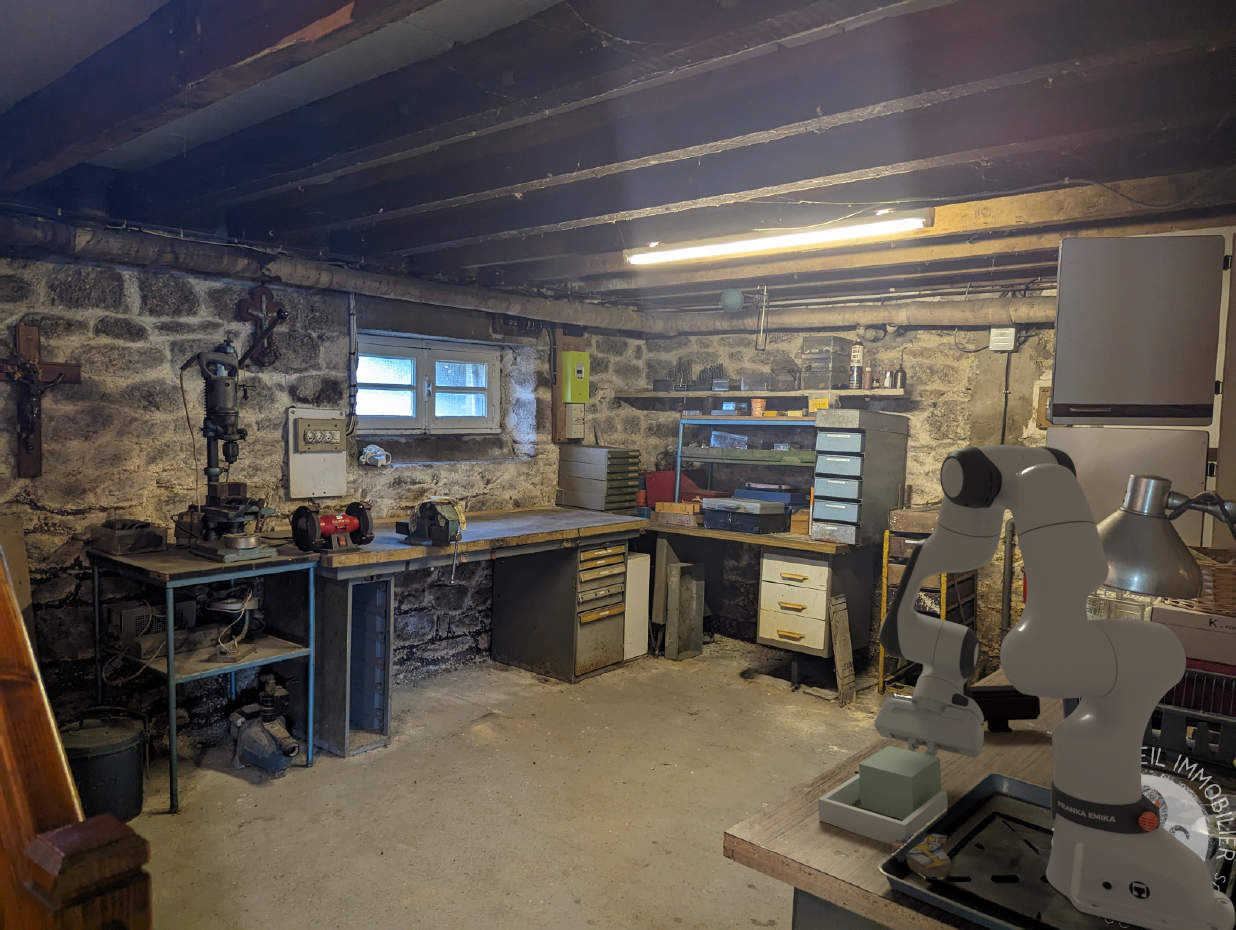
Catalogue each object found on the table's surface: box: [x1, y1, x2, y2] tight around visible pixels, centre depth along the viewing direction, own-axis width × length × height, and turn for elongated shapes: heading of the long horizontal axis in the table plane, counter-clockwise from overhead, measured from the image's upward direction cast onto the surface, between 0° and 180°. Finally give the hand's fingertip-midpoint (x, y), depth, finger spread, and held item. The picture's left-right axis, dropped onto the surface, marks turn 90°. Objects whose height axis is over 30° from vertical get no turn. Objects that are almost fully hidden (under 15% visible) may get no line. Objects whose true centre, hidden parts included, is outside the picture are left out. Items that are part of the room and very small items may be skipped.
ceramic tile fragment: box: [885, 833, 952, 878], centre depth 121 cm, size 12×3×10 cm
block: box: [858, 745, 942, 821], centre depth 143 cm, size 10×12×8 cm
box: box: [817, 772, 949, 845], centre depth 138 cm, size 16×17×4 cm
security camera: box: [963, 684, 1041, 734], centre depth 179 cm, size 7×18×10 cm, turn 88°
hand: (917, 764), depth 148 cm, fingers closed, pressing on block
